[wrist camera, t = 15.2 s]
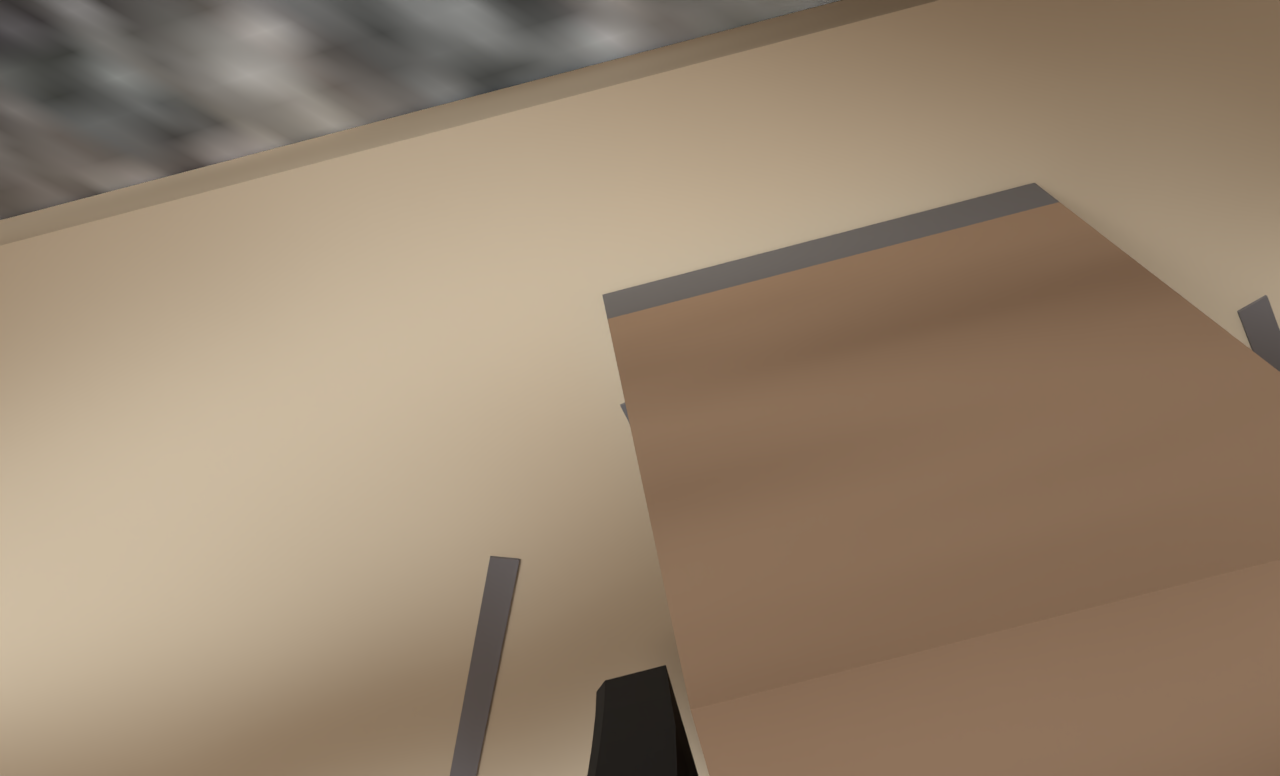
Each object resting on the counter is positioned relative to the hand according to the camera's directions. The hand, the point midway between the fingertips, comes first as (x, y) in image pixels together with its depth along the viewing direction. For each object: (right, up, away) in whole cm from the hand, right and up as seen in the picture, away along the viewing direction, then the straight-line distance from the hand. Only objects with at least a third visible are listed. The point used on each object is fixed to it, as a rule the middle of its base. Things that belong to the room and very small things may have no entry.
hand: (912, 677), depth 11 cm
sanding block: (0, +1, +1) cm, 1 cm away
